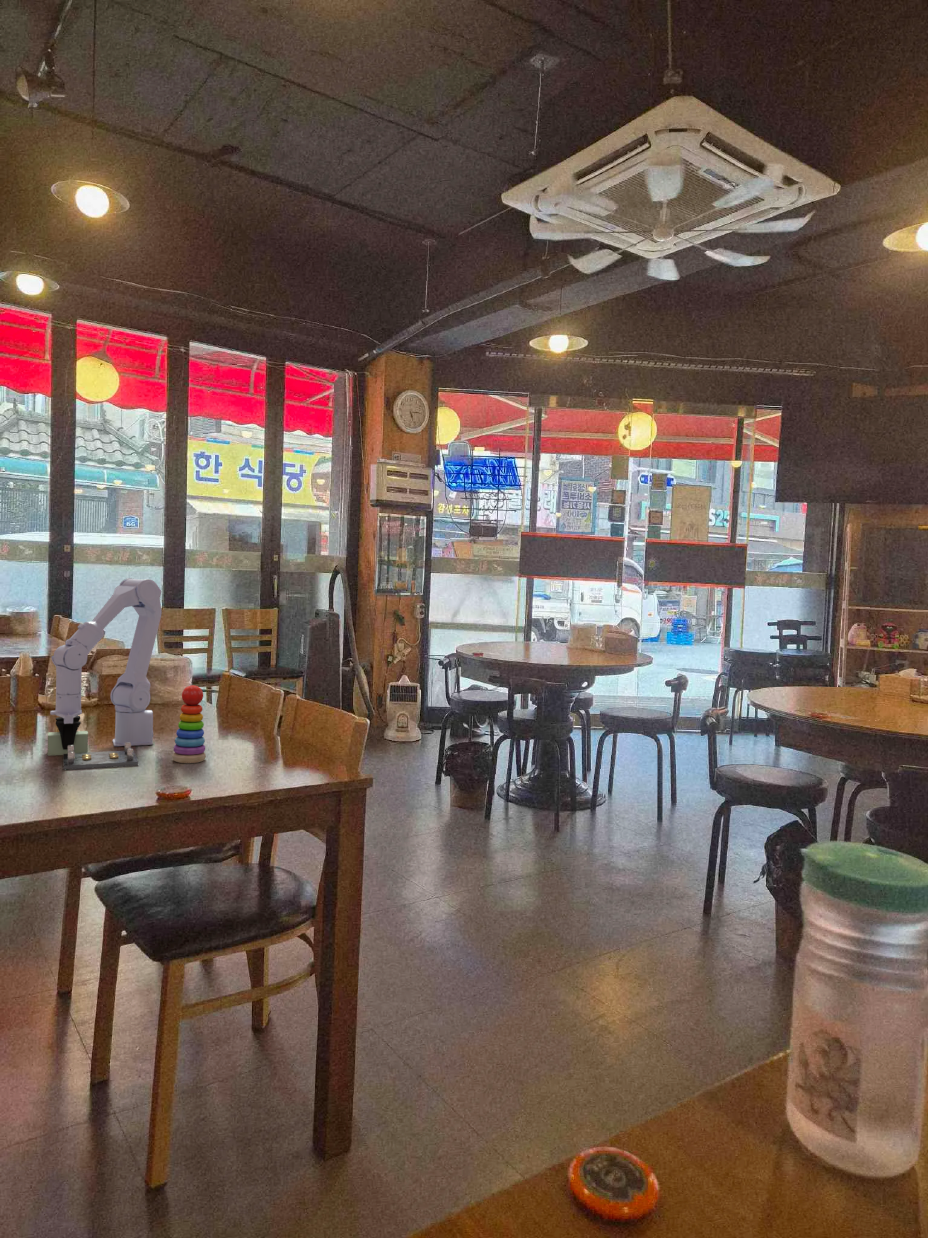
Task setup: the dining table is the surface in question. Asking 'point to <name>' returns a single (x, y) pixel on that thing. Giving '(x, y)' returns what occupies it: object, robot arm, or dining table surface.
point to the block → (56, 743)
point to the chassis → (99, 758)
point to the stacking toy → (190, 728)
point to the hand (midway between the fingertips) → (67, 747)
